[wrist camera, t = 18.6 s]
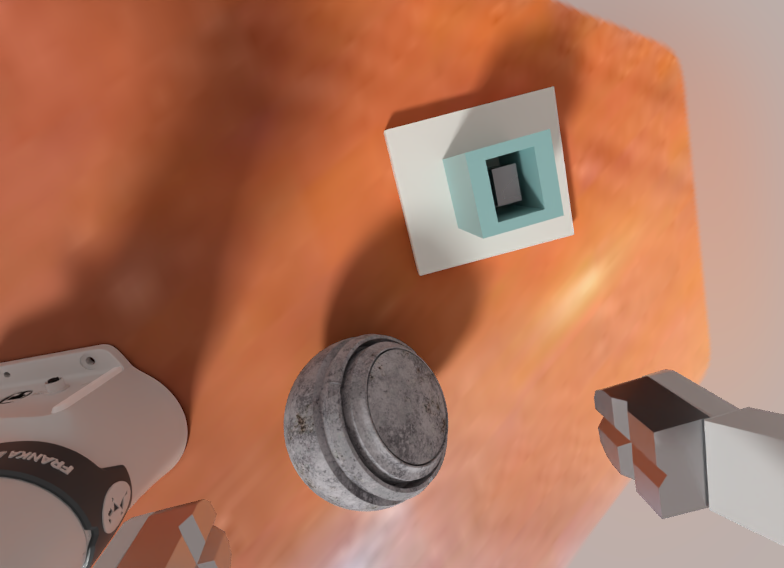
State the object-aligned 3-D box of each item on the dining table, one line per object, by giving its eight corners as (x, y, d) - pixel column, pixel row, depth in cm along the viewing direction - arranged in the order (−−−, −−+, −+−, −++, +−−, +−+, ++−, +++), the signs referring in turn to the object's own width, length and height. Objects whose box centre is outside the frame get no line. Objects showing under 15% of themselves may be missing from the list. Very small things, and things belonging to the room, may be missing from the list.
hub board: (417, 272, 42) (420, 275, 40) (383, 132, 38) (384, 130, 37) (566, 232, 42) (574, 234, 40) (546, 89, 38) (553, 86, 37)
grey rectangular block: (477, 203, 39) (498, 206, 33) (471, 171, 38) (491, 169, 32) (497, 197, 39) (521, 200, 33) (491, 166, 38) (515, 163, 32)
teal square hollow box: (458, 228, 39) (483, 238, 31) (442, 159, 38) (464, 152, 30) (523, 209, 39) (563, 215, 32) (510, 140, 38) (549, 128, 30)
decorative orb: (457, 385, 45) (506, 481, 30) (359, 463, 46) (360, 590, 32) (371, 288, 42) (379, 344, 27) (267, 375, 43) (221, 473, 28)
